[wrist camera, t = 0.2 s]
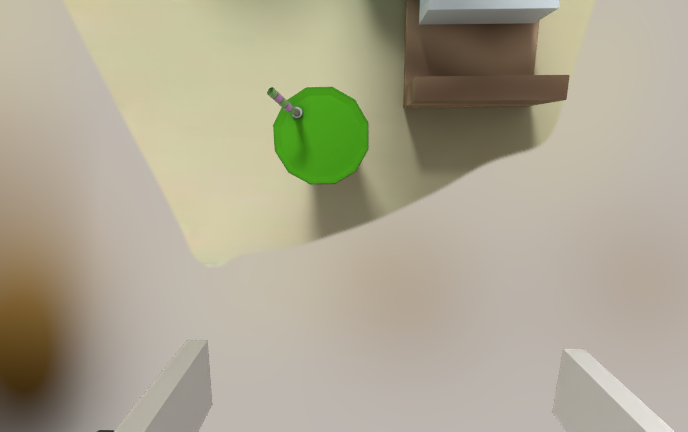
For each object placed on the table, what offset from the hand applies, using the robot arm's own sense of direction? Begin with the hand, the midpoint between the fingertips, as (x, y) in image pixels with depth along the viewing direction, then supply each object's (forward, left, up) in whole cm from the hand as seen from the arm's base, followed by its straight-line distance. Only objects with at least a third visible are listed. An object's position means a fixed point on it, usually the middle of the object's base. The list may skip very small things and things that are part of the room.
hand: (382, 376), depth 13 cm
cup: (-9, -3, -28) cm, 29 cm away
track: (-21, +11, -28) cm, 37 cm away
